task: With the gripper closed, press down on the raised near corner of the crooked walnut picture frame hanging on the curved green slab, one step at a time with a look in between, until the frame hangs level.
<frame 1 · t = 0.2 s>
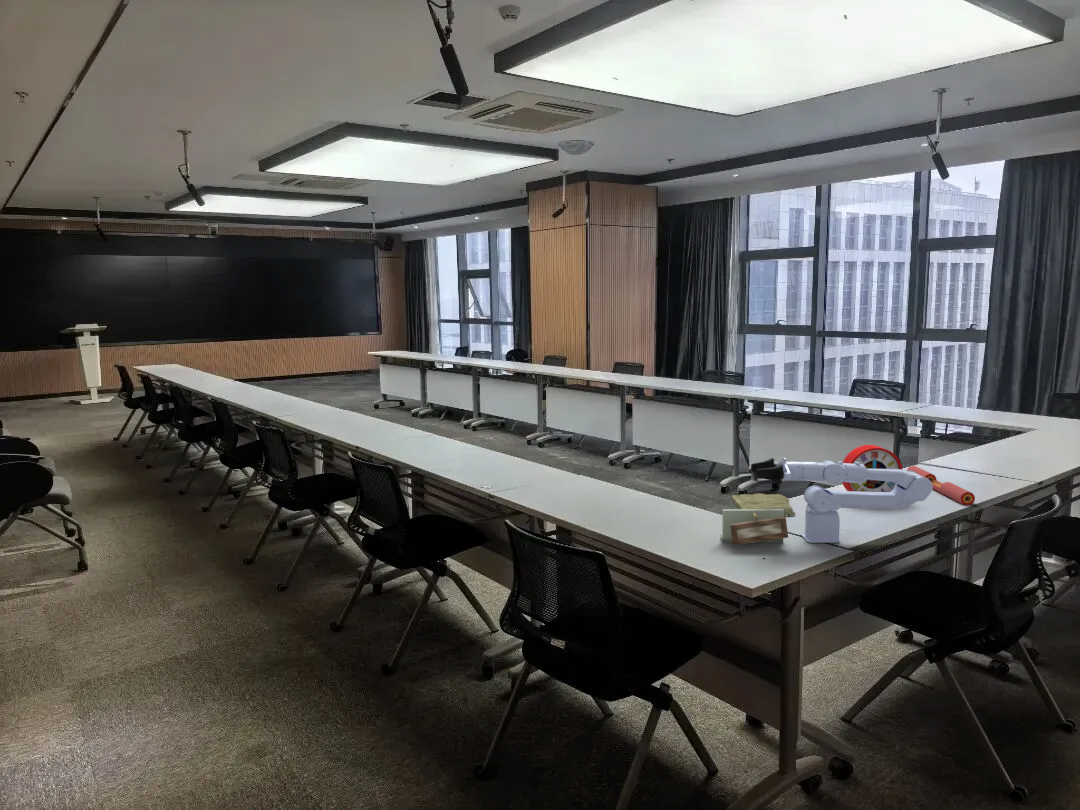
hand: (753, 470, 223), 22 cm above the table, tool horizontal, fingers open, 7 cm apart
picture frame: (758, 530, 217), point 5 cm above the table, hinge at 8.0°
toy clock: (870, 501, 265), on the table
blood vessel: (937, 491, 278), on the table
curved green slab: (752, 541, 223), on the table
decorative tile: (764, 510, 259), on the table
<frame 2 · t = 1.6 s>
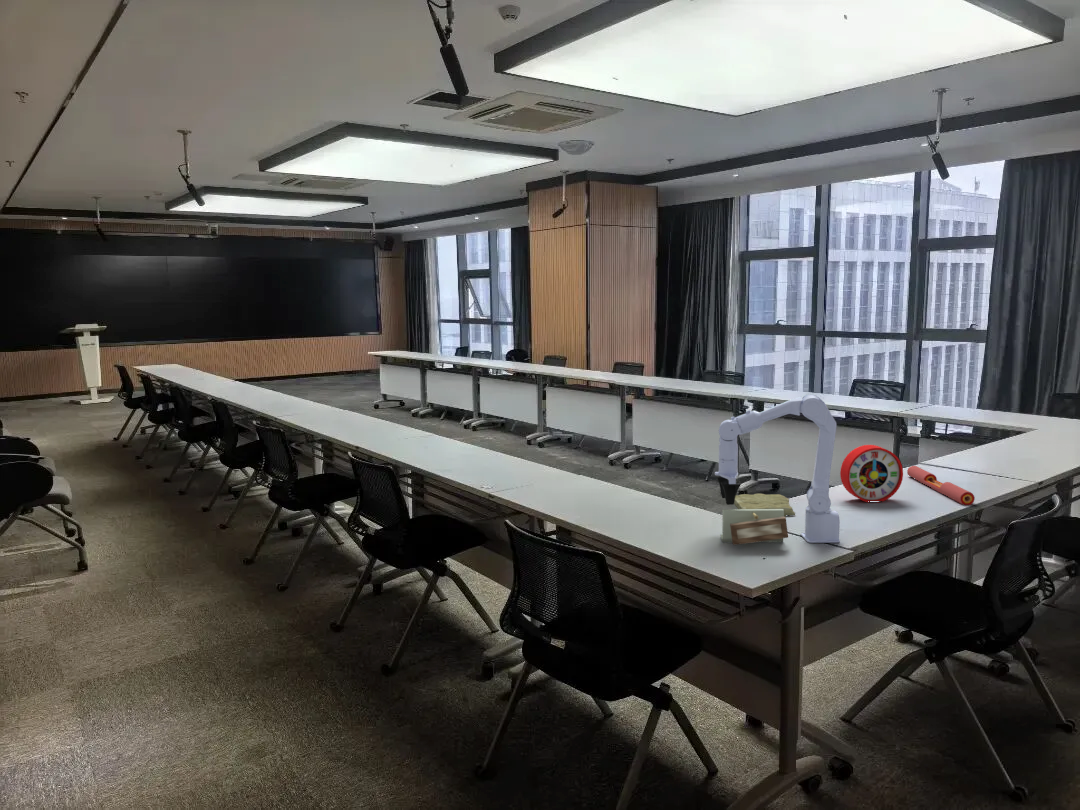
hand: (727, 501, 231), 10 cm above the table, tool pointing down, fingers open, 7 cm apart
nothing on the table moved.
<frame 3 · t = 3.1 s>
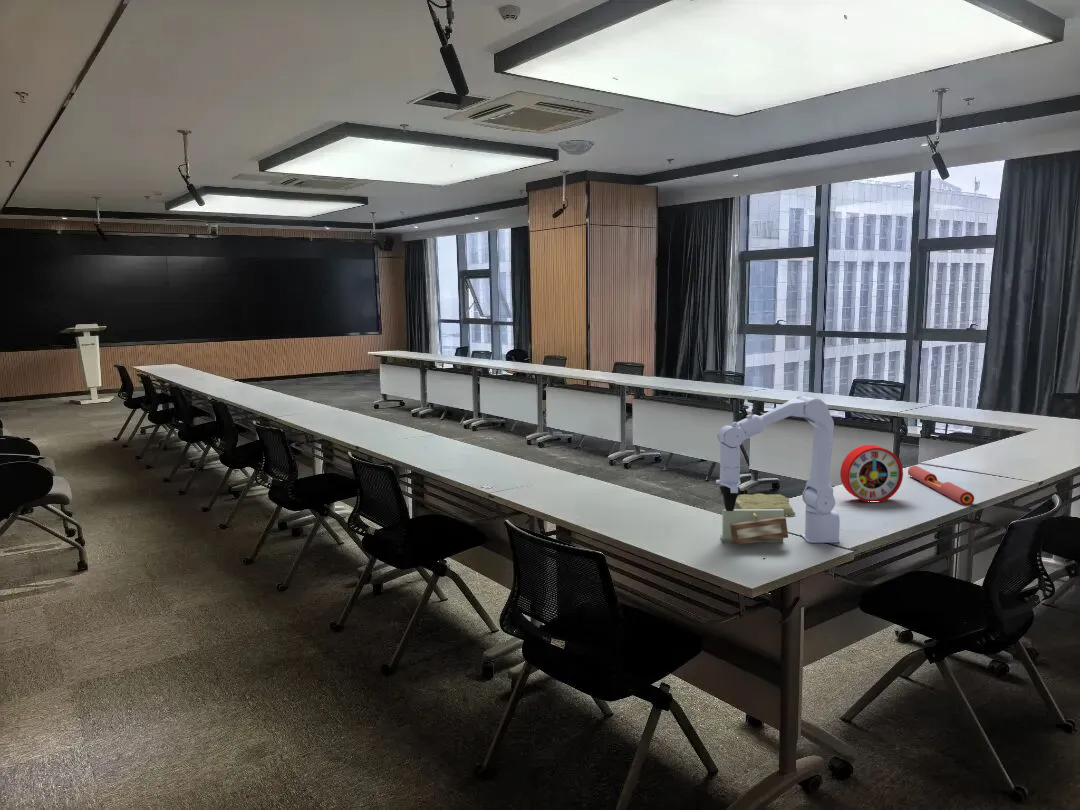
hand: (729, 510, 221), 10 cm above the table, tool pointing down, fingers closed
nothing on the table moved.
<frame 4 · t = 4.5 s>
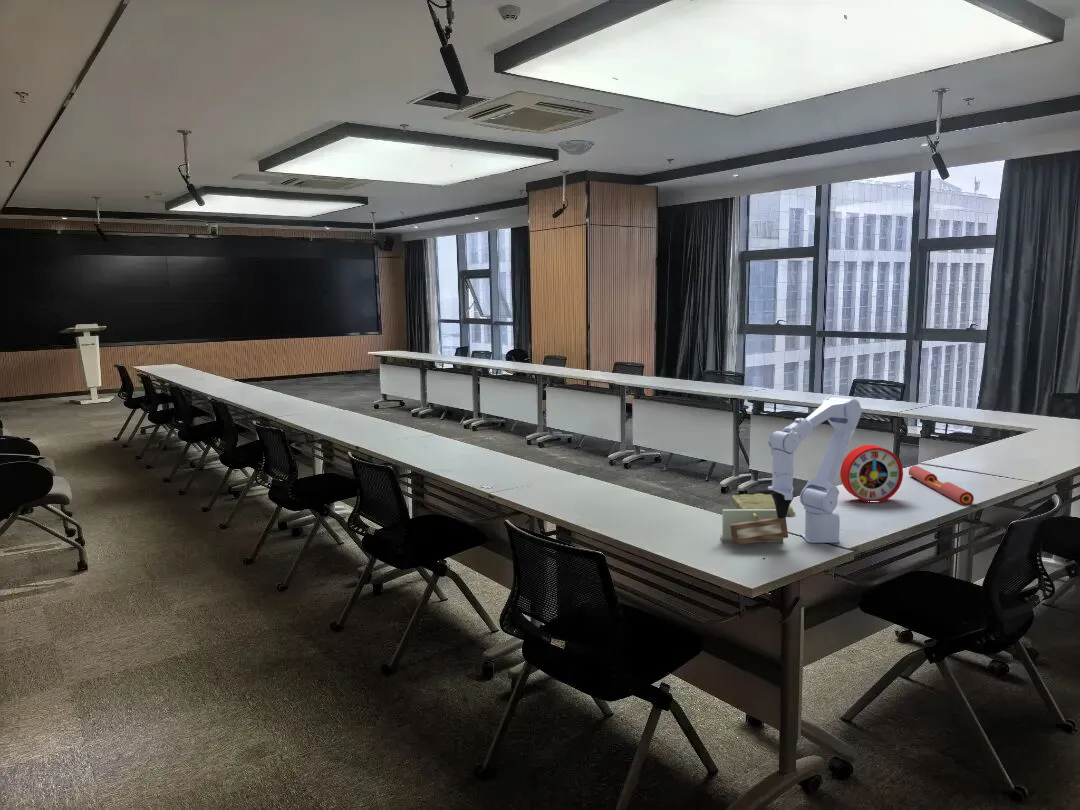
hand: (781, 517, 216), 9 cm above the table, tool pointing down, fingers closed, pressing on picture frame
picture frame: (758, 530, 217), point 5 cm above the table, hinge at 8.0°, touching gripper
everything else where it was.
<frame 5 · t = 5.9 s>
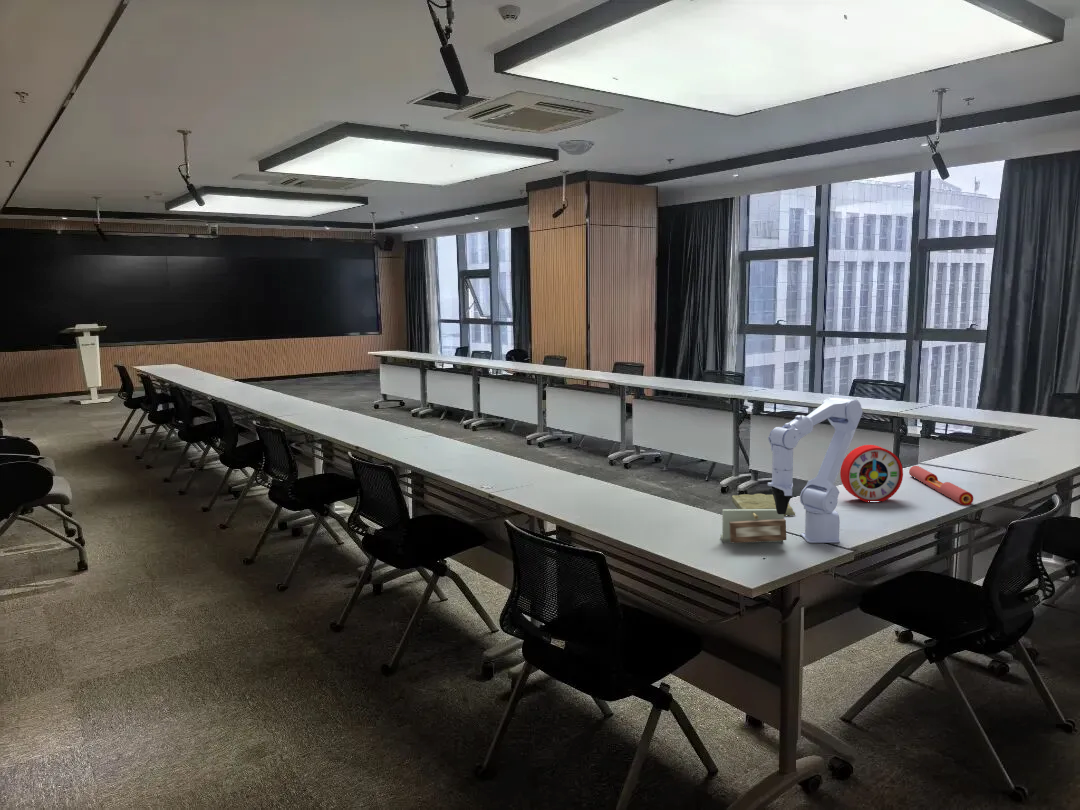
hand: (781, 513, 216), 10 cm above the table, tool pointing down, fingers closed
picture frame: (757, 530, 217), point 5 cm above the table, hinge at 3.0°
everything else where it was.
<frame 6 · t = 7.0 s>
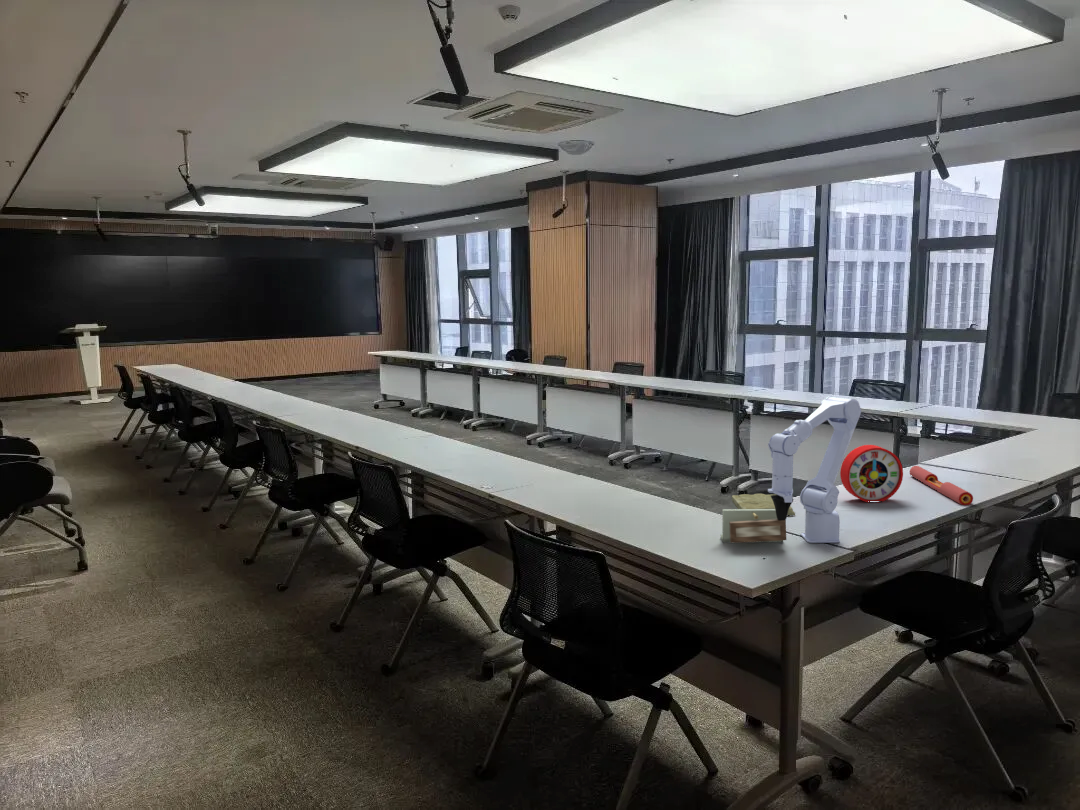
hand: (781, 520, 216), 8 cm above the table, tool pointing down, fingers closed, pressing on picture frame
picture frame: (757, 530, 217), point 5 cm above the table, hinge at 2.8°, touching gripper
everything else where it was.
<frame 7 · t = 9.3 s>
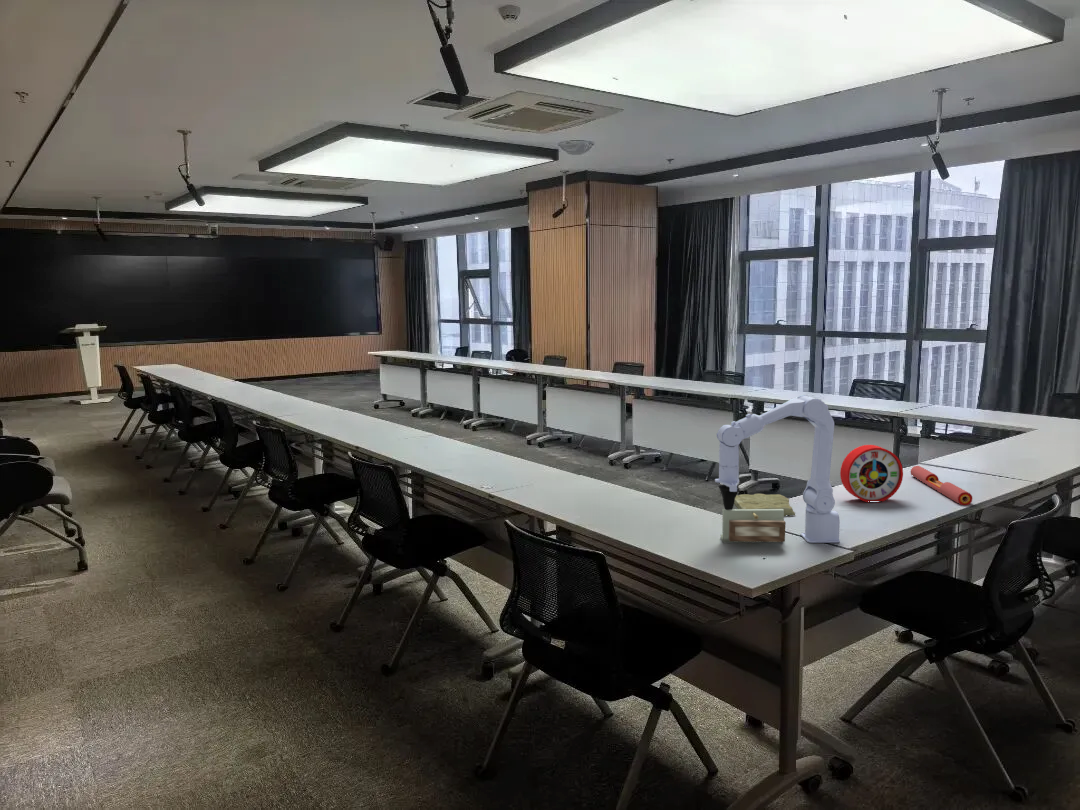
hand: (728, 509, 222), 10 cm above the table, tool pointing down, fingers closed
picture frame: (756, 530, 217), point 5 cm above the table, hinge at -0.9°
everything else where it was.
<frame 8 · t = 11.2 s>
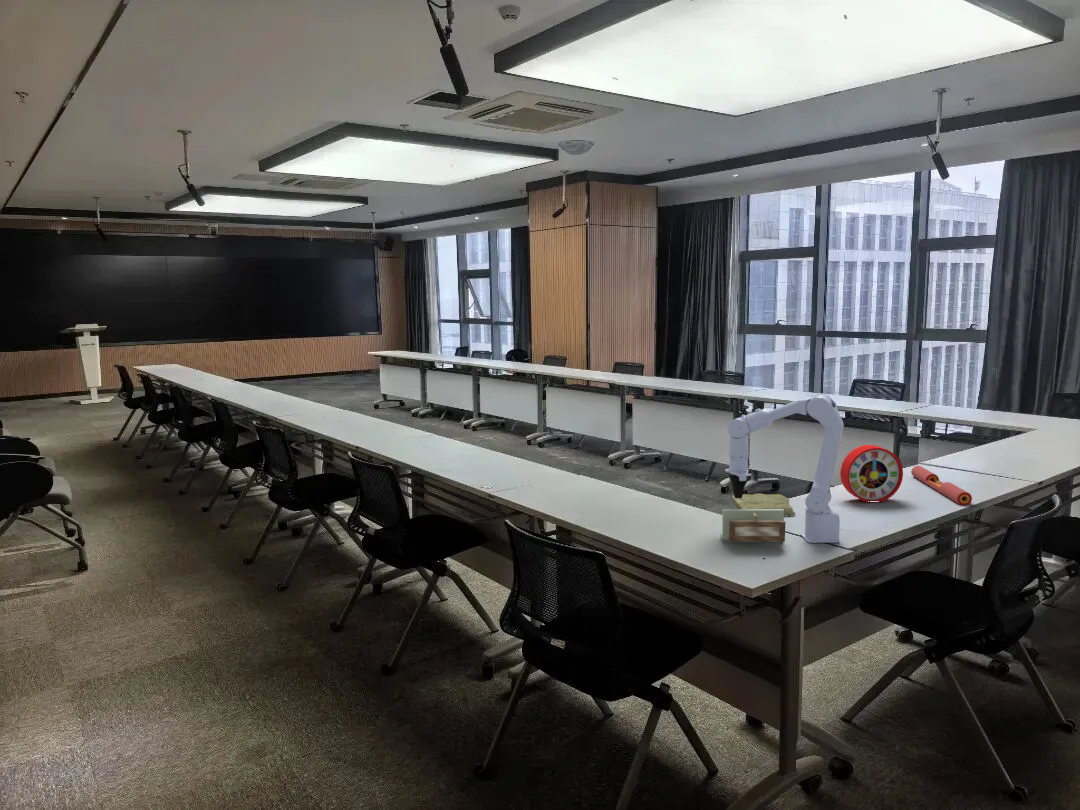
hand: (738, 497, 234), 10 cm above the table, tool pointing down, fingers closed
nothing on the table moved.
at the end: picture frame at -1° (first picture: +8°); the gripper is holding nothing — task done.
